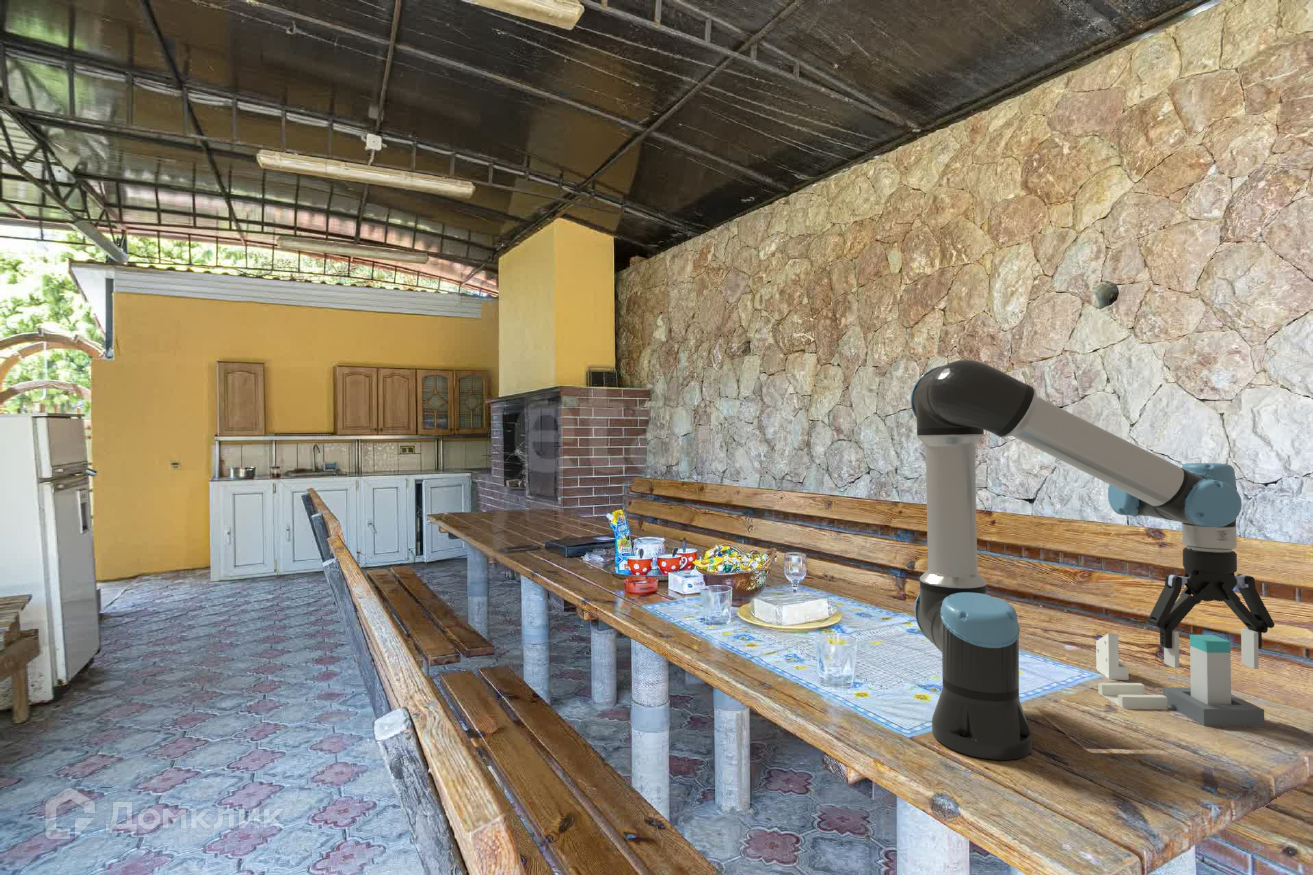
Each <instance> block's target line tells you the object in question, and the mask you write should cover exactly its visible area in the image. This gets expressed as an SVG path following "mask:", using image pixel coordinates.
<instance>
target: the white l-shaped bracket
mask: <svg viewBox="0 0 1313 875" xmlns="http://www.w3.org/2000/svg"><path fill="white" fill-rule="evenodd" d="M1095 654H1096V655H1095V659H1096V660H1095V662H1096V663H1095V666H1096V670H1097V672H1099V673H1100V674H1102V675H1103V676H1104V677H1106V678H1107V679H1109V680H1119V681H1121V680H1122V681H1129V680H1130V678H1129V668H1130V667H1128V666H1127V665H1125V664H1124V663H1122V662H1120V661H1119V659H1120V658H1119V633H1107V634H1105V635H1104V636H1102V637H1100V638H1099V639H1097V640H1096V641H1095Z"/></svg>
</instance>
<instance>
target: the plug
mask: <svg viewBox="0 0 1313 875" xmlns="http://www.w3.org/2000/svg"><path fill="white" fill-rule="evenodd" d="M1189 650H1190V651H1189V653H1190V654H1189V656H1190V657H1189V658H1190V659H1189V661H1190V662H1189V663H1190V664H1189V665H1190V666H1189V668H1190V670H1189V671H1190V688H1191V697H1193V698H1195V699H1197V700H1199V701H1201V702H1203V703H1205V704H1209V705H1231V694H1232V665H1231V664H1232V663H1231V662H1232V661H1231V660H1232V659H1231V658H1232V657H1231V654H1232V653H1231V652H1232V651H1231V641H1230V640H1228V639H1224V638H1223V637H1219V636H1217V635H1214V634H1189Z"/></svg>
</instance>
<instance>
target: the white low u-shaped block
mask: <svg viewBox="0 0 1313 875" xmlns="http://www.w3.org/2000/svg"><path fill="white" fill-rule="evenodd" d="M1097 686H1098V688H1097V689H1098V692H1097V691H1096V692H1097V693H1098V694H1099V695H1100V696H1103V697H1104V698H1105V699H1107V700H1109V701H1111V702H1112V703H1113V704H1114V705H1117V706H1118V707H1120V708H1122V709H1123V710H1169V708H1168V706H1167V697H1165V696H1164V695H1163V694H1146V689H1145V688H1146V686H1145V684H1143V683H1142V682H1098V685H1097Z"/></svg>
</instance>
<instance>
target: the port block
mask: <svg viewBox="0 0 1313 875" xmlns="http://www.w3.org/2000/svg"><path fill="white" fill-rule="evenodd" d="M1162 695H1164V696H1165V697H1167V707H1169V708H1172V709H1173V710H1175V711H1176V712H1178V713H1180V714H1182V715H1184V716H1186V717H1187V718H1189V719H1190V720H1193V721H1194V722H1196V723H1198V724H1200V725H1202V726H1203V727H1250V728H1251V727H1254V728H1256V727H1259V728H1261V727H1262V728H1264V727H1265V709H1264V708H1261V707H1259V706H1257V705H1256V704H1254V703H1252V702H1249V701H1247V700H1245V699H1242V698H1240V697H1239V696H1236V695H1234V694H1232V693H1231V705H1209V704H1205V703H1203V702H1201V701H1199V700H1197V699H1195V698H1193V697H1191V687H1187V686H1186V687H1179V686H1176V687H1175V686H1174V687H1173V686H1172V687H1170V686H1169V687H1168V686H1167V687H1162Z"/></svg>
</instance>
